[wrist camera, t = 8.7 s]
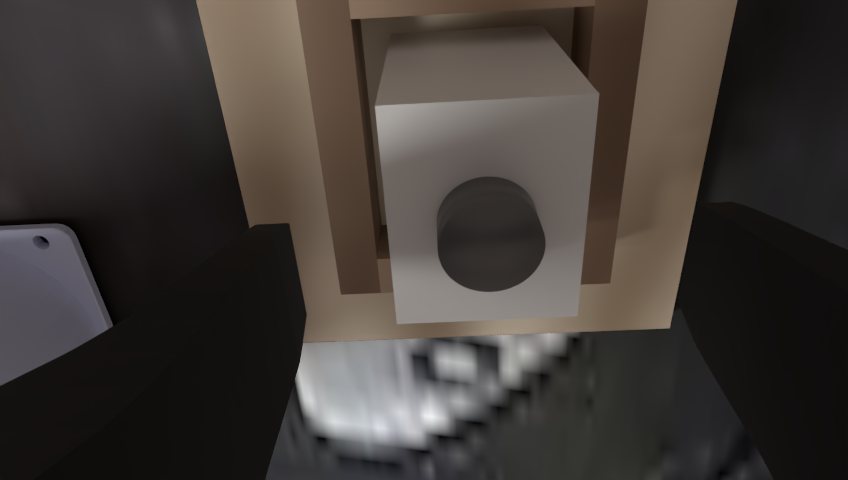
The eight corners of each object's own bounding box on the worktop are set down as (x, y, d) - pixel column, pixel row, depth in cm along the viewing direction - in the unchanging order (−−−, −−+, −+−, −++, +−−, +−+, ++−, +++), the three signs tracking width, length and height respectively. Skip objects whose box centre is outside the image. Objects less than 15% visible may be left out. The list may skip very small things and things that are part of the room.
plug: (404, 200, 18) (394, 354, 12) (390, 33, 16) (370, 125, 10) (534, 194, 18) (588, 346, 12) (541, 25, 16) (614, 112, 10)
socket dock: (281, 329, 22) (263, 384, 20) (160, -207, 14) (104, -226, 11) (661, 314, 22) (691, 367, 19) (771, -247, 13) (846, -275, 11)
